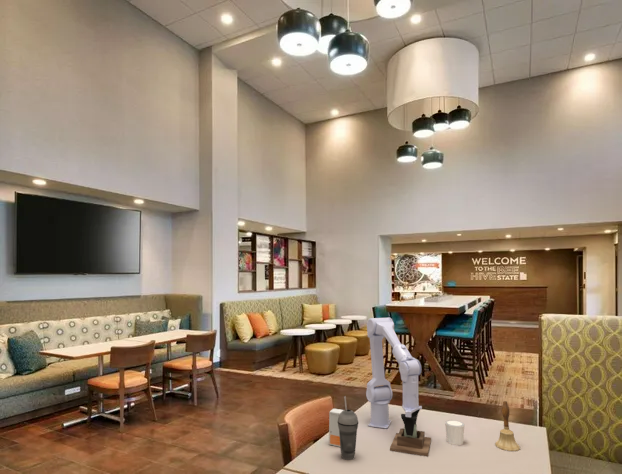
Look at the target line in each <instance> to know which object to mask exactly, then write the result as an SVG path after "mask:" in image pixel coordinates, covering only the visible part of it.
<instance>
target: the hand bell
mask: <svg viewBox="0 0 622 474" xmlns="http://www.w3.org/2000/svg"><path fill="white" fill-rule="evenodd" d="M501 416H502V418H503V429H500V430H499V438H498V440H496V441H495V443H494V446H495V447H496V448H497V449H499V450H503V451H506V450H507V452H517V451H519V450H520V449H521V447H520V445H519V444H518V442H516V439H515V436H514V435H515V434H514V431H512V430H510V425H509V423H510V422H509V419H510V418H509V417H510V407H509V404H508V401H506V400H503V401H502V405H501Z"/></svg>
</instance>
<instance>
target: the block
mask: <svg viewBox="0 0 622 474" xmlns="http://www.w3.org/2000/svg"><path fill="white" fill-rule="evenodd" d="M403 429H404V436H405V437H412V438H417V431H418V427H417V423H416V424H415V425H414V432H413V436H409V435H407V434H406V430H405V425H404V426H403Z"/></svg>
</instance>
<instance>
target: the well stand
mask: <svg viewBox="0 0 622 474" xmlns="http://www.w3.org/2000/svg"><path fill="white" fill-rule="evenodd" d="M399 429H400V430H399V432H396V433H395V435H394V438H393V440H392V442H391V444H390V447H389V451H390V452H395V453H401V454H402V453H403V454H410V455H414V456H415V455H416V456H423V457H428V456H429V453H430V449H431V443H432V437H429V436H425V435H426V434H425V431H423V430H417V438H412V437H405V436H404V428H399Z"/></svg>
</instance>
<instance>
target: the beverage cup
mask: <svg viewBox="0 0 622 474" xmlns="http://www.w3.org/2000/svg"><path fill="white" fill-rule="evenodd" d="M343 398H344V409H343V410H344V411H342V412H341V413H340V415H339V417H338V422H337V423H338V428H339V435H340V447H339V449H340V455H341V459H343V460H346V461H352V460H354V459H355V454H356V449H357V448H356V447H357V435H358V434H357V433H358V427H359V419H358V416H357V414H356V413H355V412H354V411H353V410H351V409H350V408H349V409H348V407H347V397H346V395H345V396H343Z"/></svg>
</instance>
